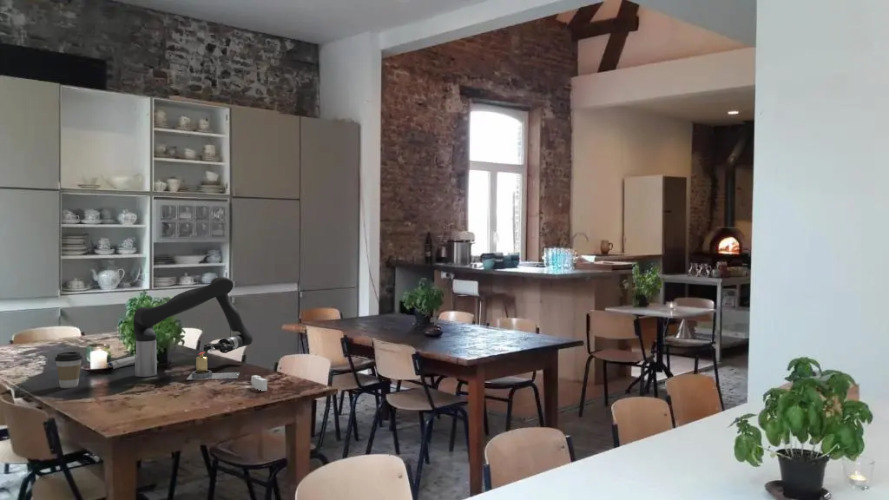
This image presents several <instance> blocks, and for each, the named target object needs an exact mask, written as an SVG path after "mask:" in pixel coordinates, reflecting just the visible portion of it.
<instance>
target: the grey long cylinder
mask: <svg viewBox="0 0 889 500" xmlns="http://www.w3.org/2000/svg"><path fill="white" fill-rule="evenodd" d="M134 356H135V355H132V356H128V357H124V358H120V359H114V360H113V361H109V362H108V363H107V366H108V365H110V366H113V369H112V370H115V369H119V368H122V367H125V366H127V365H131V364H133V363H134V364H135V357H134Z"/></svg>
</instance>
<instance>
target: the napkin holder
mask: <svg viewBox="0 0 889 500" xmlns="http://www.w3.org/2000/svg"><path fill="white" fill-rule="evenodd" d="M251 387H252V388H255V389H254V390H257V389H258V390H257V391H260V390H261V391H260V392H265V391H268V379H266V378H263V377H262V376H260V375H256V374H255V375H251Z"/></svg>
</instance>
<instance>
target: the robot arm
mask: <svg viewBox="0 0 889 500" xmlns="http://www.w3.org/2000/svg"><path fill="white" fill-rule="evenodd" d="M233 288H234V282H233V280H232V279H231V278H228V277H226V276H220V277H215V278H213V279H212V280H211V281H210V284H208V285H207V284H206V285H204V286H201V287H200V286H199V287H195V288H191V289H188V290H185V291H183V292H180V293H178V294H176V295H174V296H172V298H170V299H169V300H167V301H166V302H165V303H162V304H160V305H157V306H153V307H148V306H141V307H139V308H137V309H136V310H135V311H134V314H133V333H134V336H135V350H136V351H135V356H136V357H135V362H134V373H135V374H134V377H140V378H146V377H147V378H148V377H153V376H156V375H157V373H158V372H157V370H158V369H157V367H158V366H157V365H158V362H157V334H156V332H155V330H154V326H156V325H157V324H159V323H161V322H162V321H164V320H166V319H168V318H170V317H173V316H176V315H179V314H182V313H184V312H187V311H189V310H192V309H194V308H195V307H198V306H200V305H203V304H204V303H206V302H207V301H209V300H212V299H216V300H217V303H218V304H219V306H220V308H221V309H222V311H223V315H224V316H225V318H226V321H227V323H228V326H229V329H230V331H231V332H236V333H237V332H238V333H239V334H235V335H232V336H227V337H226V336H225V337H223V338H220V339H219V340H218V342H215V343H212V342H211V343H206V344H204V346H203V352H207V351H212V352H214V351H216V352H217V351H219V352H220V353H222V354H228V353H231V352H233V351H235V350H237V349H240V348H243V347H246V346H250V345H251V344H252V343H253V341H254V340H253V336H252V334H251V332H250V331H249V330H248V328H247V327H246V325H244V322H243V319H242V317H241V315H240V312H239V310H238V309H237V308H236V306H234V304H233V302H232V301H231V299H230V297H229V295H228V294H229V293H231V292H232V290H233Z"/></svg>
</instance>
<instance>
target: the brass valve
mask: <svg viewBox="0 0 889 500" xmlns="http://www.w3.org/2000/svg"><path fill="white" fill-rule="evenodd" d="M205 353H206V351H200V352H199V353H198V356H196V358H195V360H196V361H195V364H196V365H195V366H196V368H195V369H196V370H195V371H196V373H207V370H208V356H205V355H204V354H205Z"/></svg>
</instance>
